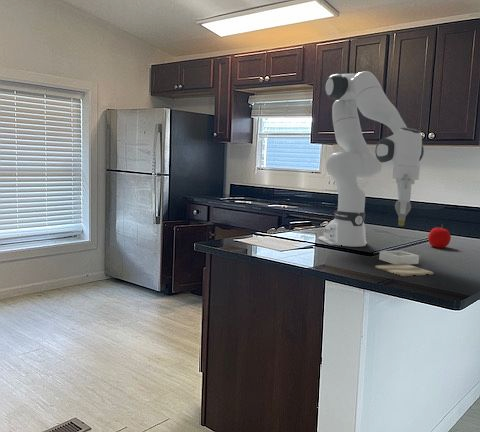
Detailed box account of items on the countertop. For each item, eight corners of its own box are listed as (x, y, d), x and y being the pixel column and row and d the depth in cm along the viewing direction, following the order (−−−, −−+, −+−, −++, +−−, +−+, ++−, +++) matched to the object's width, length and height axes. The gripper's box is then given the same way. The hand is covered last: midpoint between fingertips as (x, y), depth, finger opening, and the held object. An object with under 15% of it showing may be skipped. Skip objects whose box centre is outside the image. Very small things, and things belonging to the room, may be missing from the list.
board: (375, 267, 163) (375, 265, 163) (405, 265, 168) (405, 263, 168) (402, 276, 151) (402, 274, 151) (433, 274, 156) (433, 272, 156)
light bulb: (412, 227, 170) (414, 199, 169) (397, 227, 169) (400, 199, 168) (404, 225, 175) (406, 198, 174) (390, 225, 175) (392, 197, 173)
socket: (379, 259, 176) (379, 251, 176) (399, 258, 180) (400, 250, 180) (397, 265, 167) (398, 256, 167) (418, 263, 171) (419, 255, 171)
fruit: (451, 250, 203) (454, 226, 201) (429, 248, 204) (431, 225, 203) (447, 246, 212) (449, 223, 210) (425, 244, 213) (427, 222, 212)
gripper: (416, 175, 159) (412, 216, 161) (414, 173, 178) (410, 210, 180) (396, 174, 161) (393, 215, 163) (396, 172, 180) (393, 209, 182)
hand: (402, 212), depth 172 cm, fingers closed on light bulb, 5 cm apart
